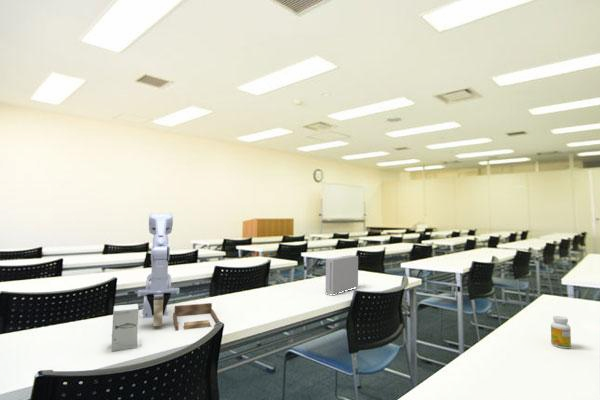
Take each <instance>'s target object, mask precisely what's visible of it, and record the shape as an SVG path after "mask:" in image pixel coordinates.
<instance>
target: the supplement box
mask: <svg viewBox="0 0 600 400" xmlns="http://www.w3.org/2000/svg"><path fill="white" fill-rule="evenodd" d="M112 311H113V312H112V328H111V329H112V331H111V352H114V351H121V350H129V349H136V348H137V347H138V332H139V331H138V328H139V327H138V325H139V303H133V304H121V305H120V304H119V305H114V306H113V310H112Z"/></svg>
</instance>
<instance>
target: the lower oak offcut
mask: <svg viewBox="0 0 600 400" xmlns="http://www.w3.org/2000/svg"><path fill="white" fill-rule="evenodd" d="M212 326H213V325H212V324H211V323H210V326H209V327H210V328H211V327H212ZM182 327H183V330H187V329H185V327H184V325H182ZM209 327H208V328H209ZM202 328H203V329H204V328H205V327H200V328H199V329H202ZM194 329H196V328H191V329H190V330H194Z"/></svg>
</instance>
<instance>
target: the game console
mask: <svg viewBox="0 0 600 400" xmlns="http://www.w3.org/2000/svg"><path fill="white" fill-rule="evenodd" d="M358 286H359V255H351V254H350V255H343V256H338V257H331V258H325V294H326V293H327V294H332V295H333V294H336V293H339V292H342V291H345V290H348V289H351V288H354V287H357V288H358ZM327 294H326V295H327ZM332 295H331V296H332ZM333 296H334V295H333Z"/></svg>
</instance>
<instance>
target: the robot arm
mask: <svg viewBox="0 0 600 400" xmlns="http://www.w3.org/2000/svg"><path fill="white" fill-rule="evenodd" d="M173 225H174V215H173V213H153V212H150V213H149V214H148V231H149V233H150V234H151V235H153V237H152V247H151V249H150V261H151V272H150V274H148V275H147V277H146V282H145V289H138V290H137V297H143V309H142V313H141V314H142V318H143V319H148V318H154V297H156V296H163V317H167V316H168V314H169V313H168V302H169V301H170V299H171V295H179V294H180V287H172V278H171V277H172V276H171V274H170V273H169V272H168V271H169V270H168V268H169V261H170V254H171V253H170V245H169V235H170V234H171V233H172V231H173Z"/></svg>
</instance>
